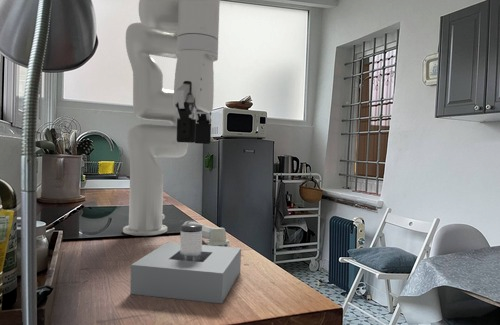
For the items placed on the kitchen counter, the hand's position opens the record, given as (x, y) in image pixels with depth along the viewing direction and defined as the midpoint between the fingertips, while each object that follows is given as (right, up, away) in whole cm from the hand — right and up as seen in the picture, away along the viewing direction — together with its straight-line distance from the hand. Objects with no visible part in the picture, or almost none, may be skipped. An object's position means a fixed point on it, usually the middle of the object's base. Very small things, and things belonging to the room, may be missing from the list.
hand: (194, 143), depth 68 cm
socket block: (-1, -26, +1) cm, 26 cm away
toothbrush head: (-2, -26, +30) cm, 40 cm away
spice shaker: (-1, -25, +1) cm, 25 cm away
